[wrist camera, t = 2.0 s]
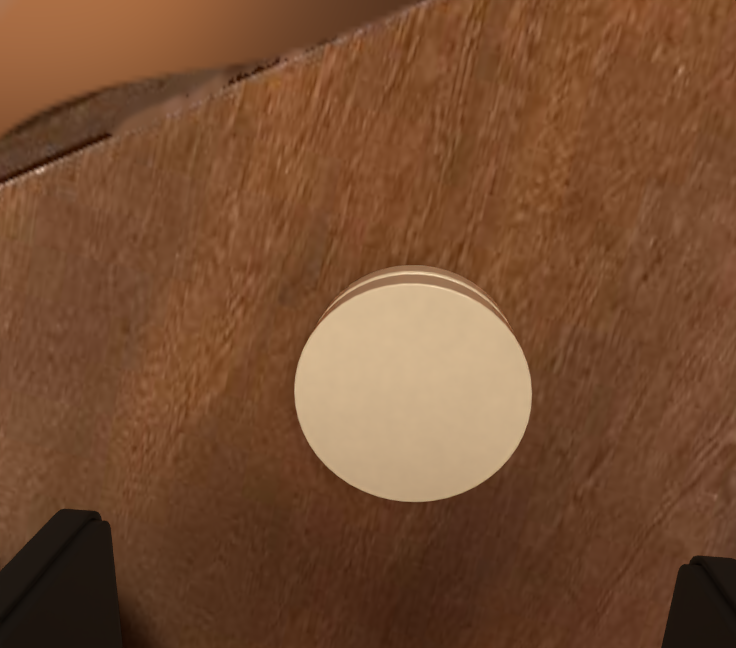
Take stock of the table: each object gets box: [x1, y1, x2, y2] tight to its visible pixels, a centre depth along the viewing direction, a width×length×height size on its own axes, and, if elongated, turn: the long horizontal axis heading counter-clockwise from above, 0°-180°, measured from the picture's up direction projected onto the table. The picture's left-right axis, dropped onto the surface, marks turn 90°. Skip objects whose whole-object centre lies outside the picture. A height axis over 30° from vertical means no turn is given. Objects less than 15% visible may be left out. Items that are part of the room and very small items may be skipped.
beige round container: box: [294, 265, 532, 502], centre depth 19 cm, size 7×7×3 cm
